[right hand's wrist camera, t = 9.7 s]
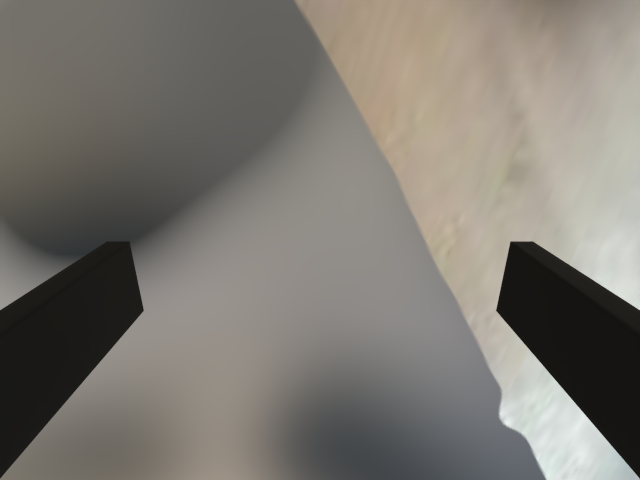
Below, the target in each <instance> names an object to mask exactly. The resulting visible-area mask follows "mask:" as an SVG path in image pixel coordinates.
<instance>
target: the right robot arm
mask: <svg viewBox="0 0 640 480" xmlns="http://www.w3.org/2000/svg"><path fill="white" fill-rule="evenodd" d="M143 311H144V310H143V305H142V300H141V295H140V291H139V286H138V281H137V276H136V271H135V266H134V261H133V257H132V252H131V247H130V242H106V243H104V244H103V245H101V246H100V247H98V248H96V249H95V250H93V251H92V252H90V253H89V254H87V255H86V256H84V257H82V258H81V259H79V260H78V261H76V262H75V263H73V264H72V265H70V266H68V267H67V268H65V269H64V270H62V271H61V272H59V273H58V274H56V275H54V276H53V277H51V278H50V279H48V280H47V281H45V282H44V283H42V284H40V285H39V286H37V287H36V288H34V289H33V290H31V291H30V292H28V293H26V294H25V295H23V296H22V297H20V298H19V299H17V300H16V301H14V302H13V303H11V304H9V305H8V306H6V307H5V308H3V309H2V310H0V478H1V477H2V476H3V474H4V473H5V472H6V471H7V470H8V469H9V467H10V466H11V465H12V464H13V463H14V462H15V460H16V459H17V458H18V457H19V456H20V455H21V453H22V452H23V451H24V450H25V449H26V448H27V446H28V445H29V444H30V443H31V442H32V441H33V439H34V438H35V437H36V436H37V435H38V433H39V432H40V431H41V430H42V429H43V428H44V427H45V425H46V424H47V423H48V422H49V421H50V420H51V418H52V417H53V416H54V415H55V414H56V413H57V411H58V410H59V409H60V408H61V407H62V405H63V404H64V403H65V402H66V401H67V400H68V399H69V397H70V396H71V395H72V394H73V393H74V391H75V390H76V389H77V388H78V387H79V386H80V385H81V383H82V382H83V381H84V380H85V379H86V377H87V376H88V375H89V374H90V373H91V372H92V370H93V369H94V368H95V367H96V366H97V365H98V363H99V362H100V361H101V360H102V359H103V358H104V356H105V355H106V354H107V353H108V352H109V351H110V349H111V348H112V347H113V346H114V345H115V344H116V342H117V341H118V340H119V339H120V338H121V337H122V335H123V334H124V333H125V332H126V331H127V330H128V328H129V327H130V326H131V325H132V324H133V323H134V321H135V320H136V319H137V318H138V317H139V316H140V314H141V313H142V312H143ZM496 311H497V312H498V313H499V314H500V316H501V317H502V318H503V319H504V320H505V321H506V323H507V324H508V325H509V326H510V327H511V328H512V330H513V331H514V332H515V333H516V334H517V335H518V337H519V338H520V339H521V340H522V341H523V342H524V344H525V345H526V346H527V347H528V348H529V349H530V351H531V352H532V353H533V354H534V355H535V356H536V358H537V359H538V360H539V361H540V362H541V363H542V365H543V366H544V367H545V368H546V369H547V370H548V372H549V373H550V374H551V375H552V376H553V377H554V379H555V380H556V381H557V382H558V383H559V385H560V386H561V387H562V388H563V389H564V390H565V392H566V393H567V394H568V395H569V396H570V397H571V399H572V400H573V401H574V402H575V403H576V404H577V406H578V407H579V408H580V409H581V410H582V411H583V413H584V414H585V415H586V416H587V417H588V418H589V420H590V421H591V422H592V423H593V424H594V425H595V427H596V428H597V429H598V430H599V431H600V432H601V434H602V435H603V436H604V437H605V438H606V439H607V441H608V442H609V443H610V444H611V445H612V446H613V448H614V449H615V450H616V451H617V452H618V453H619V455H620V456H621V457H622V458H623V459H624V460H625V462H626V463H627V464H628V465H629V466H630V467H631V469H632V470H633V471H634V472H635V473H636V474H637V476H638V477H639V478H640V310H638V309H637V308H635V307H634V306H632V305H631V304H629V303H627V302H626V301H624V300H623V299H621V298H620V297H618V296H617V295H615V294H614V293H612V292H610V291H609V290H607V289H606V288H604V287H603V286H601V285H600V284H598V283H596V282H595V281H593V280H592V279H590V278H589V277H587V276H586V275H584V274H582V273H581V272H579V271H578V270H576V269H575V268H573V267H572V266H570V265H568V264H567V263H565V262H564V261H562V260H561V259H559V258H558V257H556V256H554V255H553V254H551V253H550V252H548V251H547V250H545V249H544V248H542V247H540V246H539V245H537V244H536V243H534V242H510V247H509V252H508V257H507V261H506V266H505V271H504V276H503V281H502V286H501V290H500V295H499V300H498V305H497V310H496Z"/></svg>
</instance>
